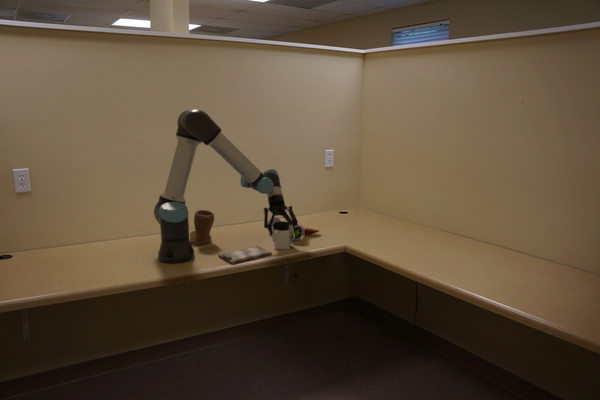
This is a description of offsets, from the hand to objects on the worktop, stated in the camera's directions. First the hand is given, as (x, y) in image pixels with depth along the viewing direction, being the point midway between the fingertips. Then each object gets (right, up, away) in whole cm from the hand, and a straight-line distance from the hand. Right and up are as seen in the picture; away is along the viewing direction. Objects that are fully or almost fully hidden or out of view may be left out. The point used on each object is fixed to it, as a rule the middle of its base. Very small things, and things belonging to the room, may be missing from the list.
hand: (284, 239), depth 205 cm
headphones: (+4, 0, +25) cm, 26 cm away
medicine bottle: (-1, -4, +4) cm, 6 cm away
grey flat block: (-17, -7, -8) cm, 20 cm away
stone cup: (-40, -2, +14) cm, 43 cm away
